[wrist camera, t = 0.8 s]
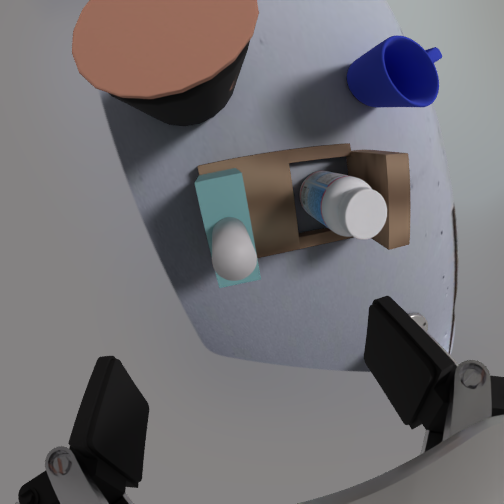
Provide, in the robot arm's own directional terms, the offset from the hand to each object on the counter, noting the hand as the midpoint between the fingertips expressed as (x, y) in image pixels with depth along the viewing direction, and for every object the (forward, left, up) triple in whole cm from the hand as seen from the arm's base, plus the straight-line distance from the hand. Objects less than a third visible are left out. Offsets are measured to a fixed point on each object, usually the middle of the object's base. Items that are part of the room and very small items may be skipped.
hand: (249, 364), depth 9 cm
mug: (+15, -23, -25) cm, 37 cm away
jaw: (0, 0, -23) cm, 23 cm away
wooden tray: (0, -9, -25) cm, 26 cm away
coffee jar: (+16, +1, -25) cm, 29 cm away
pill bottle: (0, -12, -25) cm, 28 cm away
